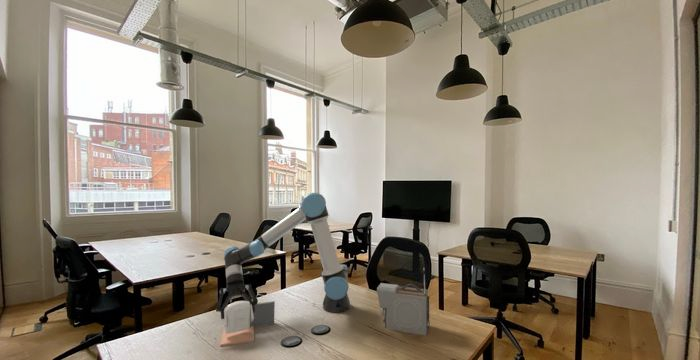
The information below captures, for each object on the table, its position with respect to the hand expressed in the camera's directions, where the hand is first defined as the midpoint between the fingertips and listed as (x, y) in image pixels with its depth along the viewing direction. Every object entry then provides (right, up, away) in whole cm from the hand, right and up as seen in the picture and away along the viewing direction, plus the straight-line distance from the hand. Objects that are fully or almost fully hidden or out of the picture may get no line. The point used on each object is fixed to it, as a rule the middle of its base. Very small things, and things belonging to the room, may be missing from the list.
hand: (239, 323), depth 124 cm
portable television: (+73, -8, +11) cm, 74 cm away
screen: (+4, -7, +13) cm, 16 cm away
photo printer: (-2, -5, +2) cm, 5 cm away
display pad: (-1, -7, +2) cm, 7 cm away
